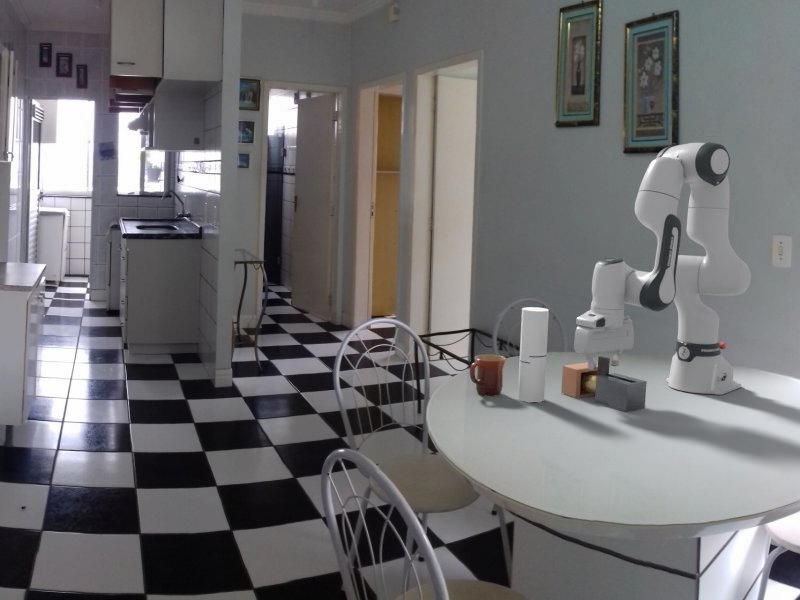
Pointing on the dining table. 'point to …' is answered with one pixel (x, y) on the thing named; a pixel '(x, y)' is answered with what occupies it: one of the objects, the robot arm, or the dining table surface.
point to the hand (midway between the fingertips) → (603, 367)
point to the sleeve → (620, 392)
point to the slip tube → (590, 380)
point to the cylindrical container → (533, 354)
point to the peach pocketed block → (575, 379)
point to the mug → (488, 374)
